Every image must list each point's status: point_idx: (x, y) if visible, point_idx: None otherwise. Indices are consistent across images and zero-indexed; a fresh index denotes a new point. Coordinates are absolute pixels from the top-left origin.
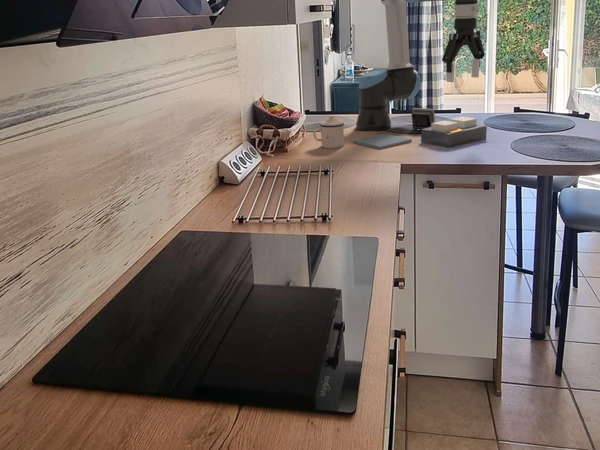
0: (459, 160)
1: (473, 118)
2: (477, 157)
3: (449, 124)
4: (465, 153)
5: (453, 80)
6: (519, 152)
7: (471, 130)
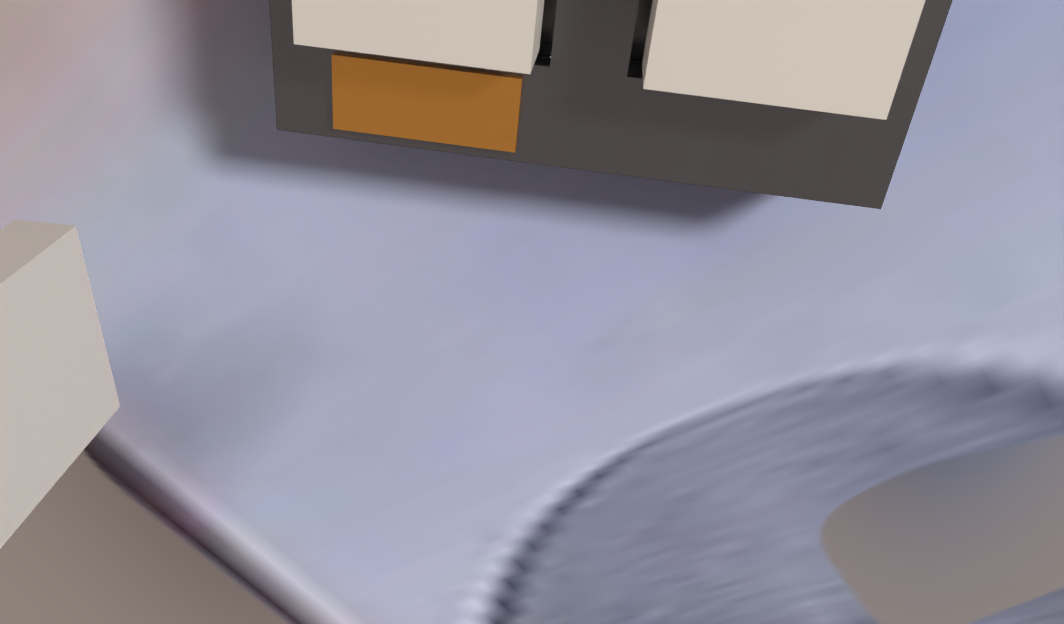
0: (119, 356)
1: (879, 79)
2: (265, 403)
3: (374, 50)
4: (288, 291)
5: (81, 427)
6: (552, 529)
7: (623, 170)
